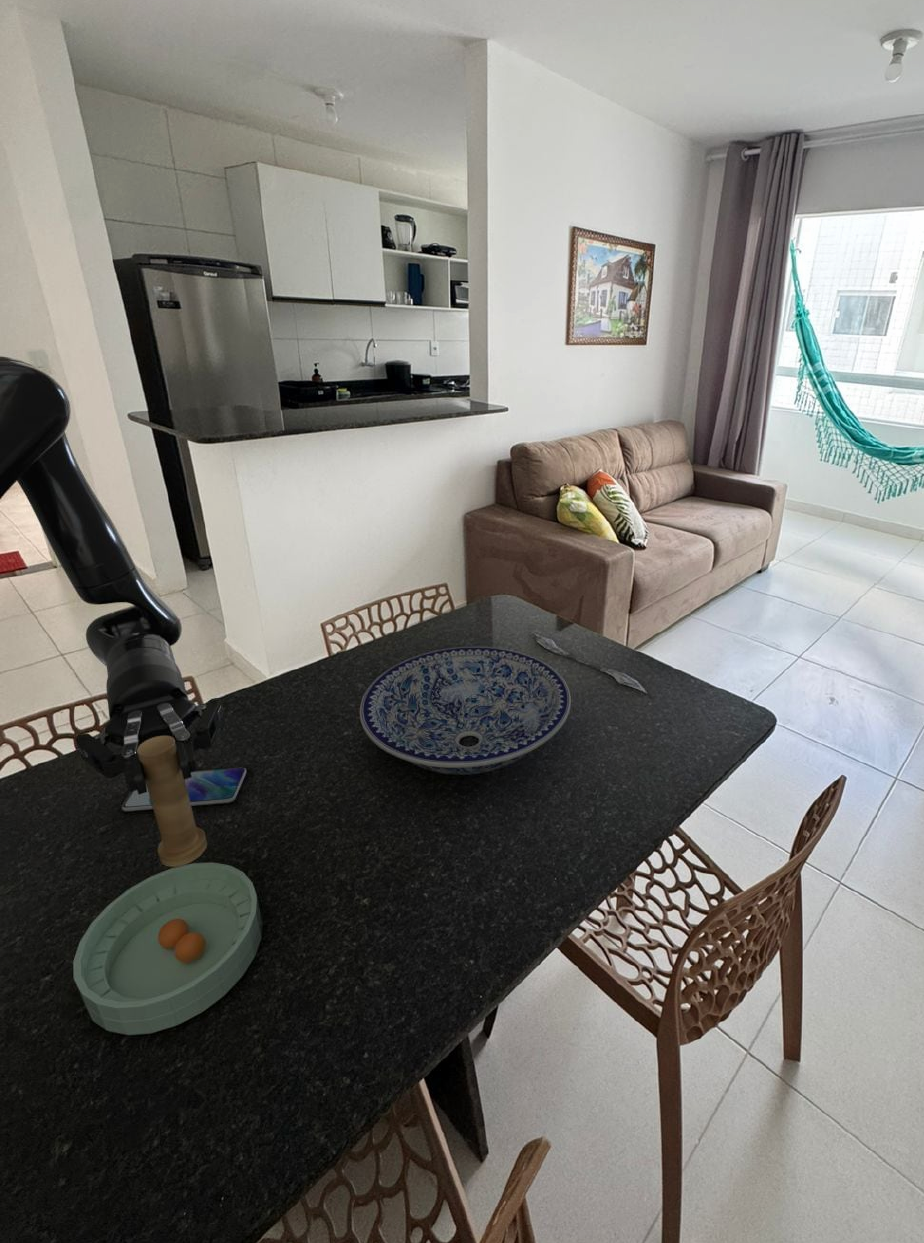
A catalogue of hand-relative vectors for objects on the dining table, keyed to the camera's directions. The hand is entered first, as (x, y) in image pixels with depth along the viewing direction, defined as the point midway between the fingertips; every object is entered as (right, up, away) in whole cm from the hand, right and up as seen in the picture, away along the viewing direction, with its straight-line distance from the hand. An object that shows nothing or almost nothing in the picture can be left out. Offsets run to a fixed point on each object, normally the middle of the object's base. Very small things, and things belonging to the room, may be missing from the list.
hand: (164, 778), depth 61 cm
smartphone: (-18, -13, +33) cm, 40 cm away
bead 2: (-3, -22, +9) cm, 24 cm away
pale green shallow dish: (-5, -24, +10) cm, 26 cm away
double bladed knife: (+43, +1, +72) cm, 84 cm away
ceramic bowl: (+22, -9, +47) cm, 53 cm away
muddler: (-2, -10, +7) cm, 12 cm away
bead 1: (-6, -21, +10) cm, 24 cm away
